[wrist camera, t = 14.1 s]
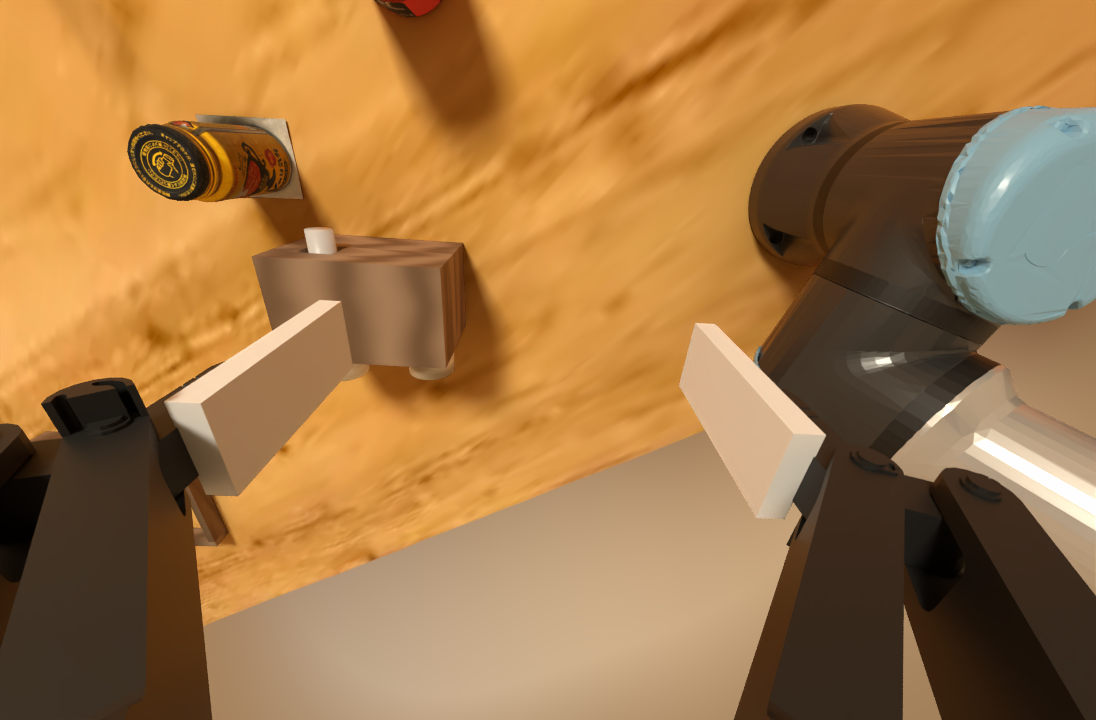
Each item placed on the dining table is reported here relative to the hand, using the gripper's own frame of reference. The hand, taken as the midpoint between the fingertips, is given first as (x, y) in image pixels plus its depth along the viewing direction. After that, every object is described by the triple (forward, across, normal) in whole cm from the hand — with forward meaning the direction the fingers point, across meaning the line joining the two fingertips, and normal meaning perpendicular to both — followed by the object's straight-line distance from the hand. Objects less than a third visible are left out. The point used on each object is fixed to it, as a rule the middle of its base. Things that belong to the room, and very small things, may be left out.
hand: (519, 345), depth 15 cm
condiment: (+32, -29, +4) cm, 43 cm away
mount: (+32, -16, -9) cm, 37 cm away
